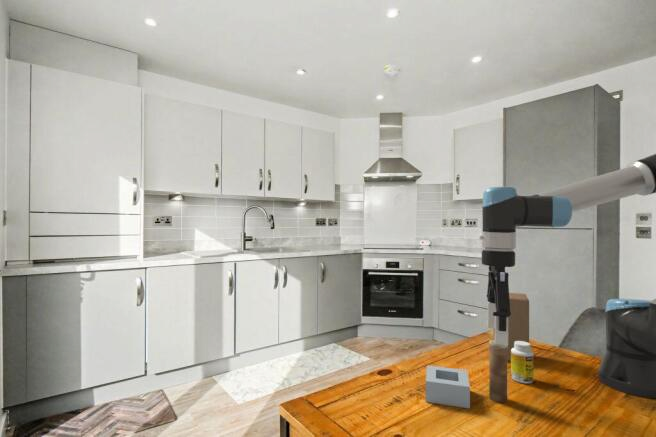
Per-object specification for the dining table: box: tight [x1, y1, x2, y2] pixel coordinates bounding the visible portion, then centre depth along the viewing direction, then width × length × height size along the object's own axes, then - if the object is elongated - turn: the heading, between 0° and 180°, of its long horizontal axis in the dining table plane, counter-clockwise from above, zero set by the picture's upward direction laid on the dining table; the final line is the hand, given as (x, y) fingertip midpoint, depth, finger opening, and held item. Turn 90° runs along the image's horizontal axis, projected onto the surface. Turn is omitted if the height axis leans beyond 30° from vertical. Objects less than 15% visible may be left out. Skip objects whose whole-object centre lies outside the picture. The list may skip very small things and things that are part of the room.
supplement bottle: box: [510, 341, 535, 385], centre depth 99 cm, size 6×6×10 cm
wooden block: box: [492, 292, 530, 363], centre depth 116 cm, size 10×10×20 cm
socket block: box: [425, 364, 471, 409], centre depth 89 cm, size 10×10×5 cm
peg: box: [488, 339, 508, 404], centre depth 88 cm, size 4×4×14 cm
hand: (496, 335), depth 88 cm, fingers open, 13 cm apart
